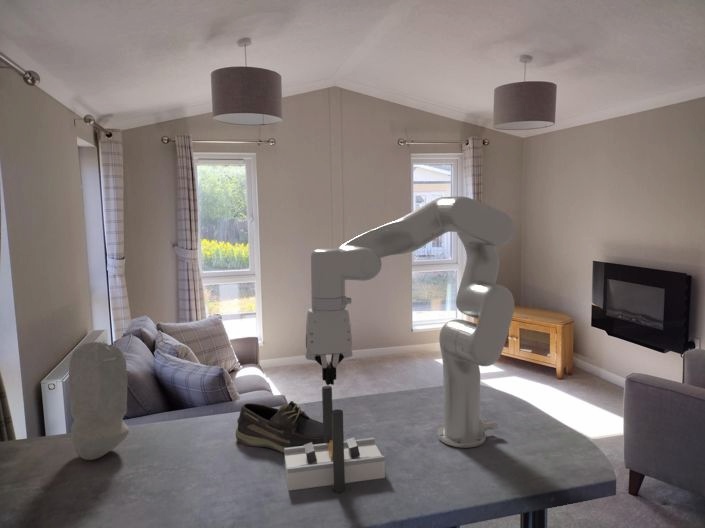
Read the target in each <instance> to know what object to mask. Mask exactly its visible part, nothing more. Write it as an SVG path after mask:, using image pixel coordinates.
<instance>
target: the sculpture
mask: <svg viewBox="0 0 705 528" xmlns="http://www.w3.org/2000/svg"><path fill="white" fill-rule="evenodd" d="M128 381H129V380H128V373H127V360H126V355H125V353H124V352H123V350H122V349H121V348H120V347H119V346H116V345H114V344H108V343H106V342H102V341H92V342H86V343H84V344H81V345H79V346H78V347H76V348H75V349H74V350H73V351H72V354H71V356H70V359H69V364H68V382H69V383H68V384H69V397H70V398H69V399H70V401H69V402H70V416H71V417H72V418H73V422H72V424H71V426H70V434H71V439H72V443H73V447H74V451H75V452H76V454H77V455H78V456H79V457H80V458H81V459H83V460H86V461H89V460H97V459H99V458H101V457H103V456H104V455H105V456H106V454H108V453H109V452H110V451H112V450H114V449H115V448H117V447H118V446H119V445H120V444H121V443H122V442H123V441H124V440H125V439H126V438H127V437H128V436H129V433H130V431H129V430H130V429H129V427H128V425H127V424H126V423H125V421H124V417H125V415H126V414H127V412H128V403H127V401H128Z"/></svg>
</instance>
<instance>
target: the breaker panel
mask: <svg viewBox="0 0 705 528" xmlns="http://www.w3.org/2000/svg"><path fill="white" fill-rule="evenodd" d="M355 441H356V443H357V445H358V449H359V453H360V456H357V457H354V458H352V457H351V455H350V453H349V450H348V447H347V443H346V440H344V471H345V484H348V483H355V482H356V483H358V482H363V481H370V480H371V481H372V480H380V479H385V478H386V470H385V469H386V468H385V466H386V463H385V462H386V461H385V456H384V455H382V454H381V452H380V450H379V448H378V446H377V445H376V439H375V437H366V438H359V439H355ZM313 447H314V451H315V455H316V459H317V461H315V462H312V463H308V460H307V456H306V452H305V448H304V446H298V447H289V448H284V453H283V454H284V469H285V477H286V484H287V490H288V491H296V490H303V489H311V488H320V487H327V486H334V471H333V459H331V457H330V454H329V451H328V448H329V443H323V444H315V445H313Z"/></svg>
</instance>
